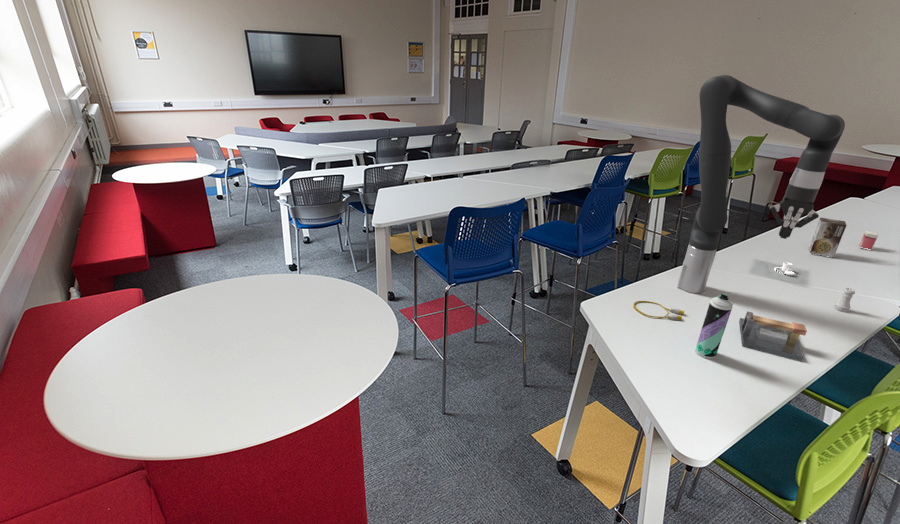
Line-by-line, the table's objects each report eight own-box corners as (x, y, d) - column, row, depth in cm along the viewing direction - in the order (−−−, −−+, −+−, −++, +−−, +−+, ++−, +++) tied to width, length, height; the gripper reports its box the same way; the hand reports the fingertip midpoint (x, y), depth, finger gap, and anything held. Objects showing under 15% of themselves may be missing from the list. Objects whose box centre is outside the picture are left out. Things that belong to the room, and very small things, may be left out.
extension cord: (671, 329, 144) (672, 324, 143) (626, 309, 154) (627, 304, 154) (687, 317, 151) (689, 312, 150) (644, 298, 162) (645, 294, 161)
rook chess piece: (845, 307, 159) (855, 287, 156) (851, 313, 155) (861, 293, 152) (831, 305, 160) (839, 285, 157) (836, 311, 156) (845, 291, 153)
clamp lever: (746, 322, 138) (748, 317, 137) (745, 316, 141) (747, 311, 140) (804, 336, 132) (806, 331, 131) (802, 330, 135) (804, 324, 134)
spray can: (691, 348, 133) (709, 289, 125) (708, 347, 134) (727, 289, 125) (701, 359, 128) (721, 299, 120) (719, 358, 129) (740, 298, 120)
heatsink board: (742, 346, 135) (748, 327, 132) (738, 321, 148) (745, 304, 145) (801, 361, 129) (810, 342, 126) (793, 334, 142) (800, 316, 139)
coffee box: (831, 254, 205) (845, 220, 198) (833, 258, 200) (847, 224, 193) (807, 249, 209) (820, 216, 203) (808, 253, 204) (821, 220, 198)
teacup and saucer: (795, 279, 180) (799, 270, 179) (772, 273, 185) (775, 264, 183) (796, 271, 187) (800, 263, 185) (774, 266, 191) (777, 257, 189)
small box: (858, 245, 216) (865, 230, 213) (870, 247, 214) (877, 232, 210) (859, 248, 212) (866, 233, 209) (871, 250, 210) (878, 235, 207)
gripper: (779, 183, 133) (759, 236, 140) (834, 191, 128) (810, 246, 135) (776, 178, 139) (757, 229, 147) (828, 185, 134) (806, 238, 141)
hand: (783, 237), depth 141 cm, fingers closed
